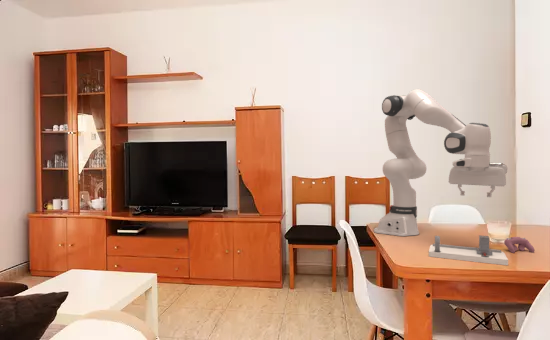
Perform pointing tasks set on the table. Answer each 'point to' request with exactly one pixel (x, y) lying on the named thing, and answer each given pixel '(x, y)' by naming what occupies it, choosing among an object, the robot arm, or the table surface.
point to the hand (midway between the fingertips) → (475, 196)
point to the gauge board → (465, 253)
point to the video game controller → (521, 244)
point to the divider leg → (483, 246)
